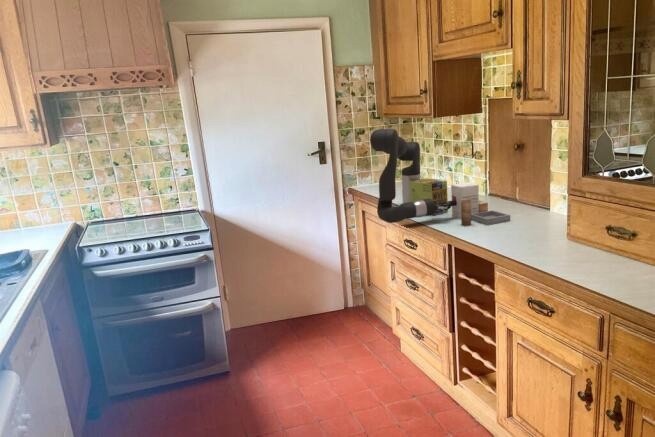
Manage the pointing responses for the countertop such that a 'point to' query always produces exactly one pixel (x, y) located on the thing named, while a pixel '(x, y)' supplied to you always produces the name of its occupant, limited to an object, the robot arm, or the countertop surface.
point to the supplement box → (465, 197)
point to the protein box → (429, 191)
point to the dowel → (466, 212)
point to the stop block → (483, 206)
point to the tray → (490, 217)
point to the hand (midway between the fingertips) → (455, 202)
